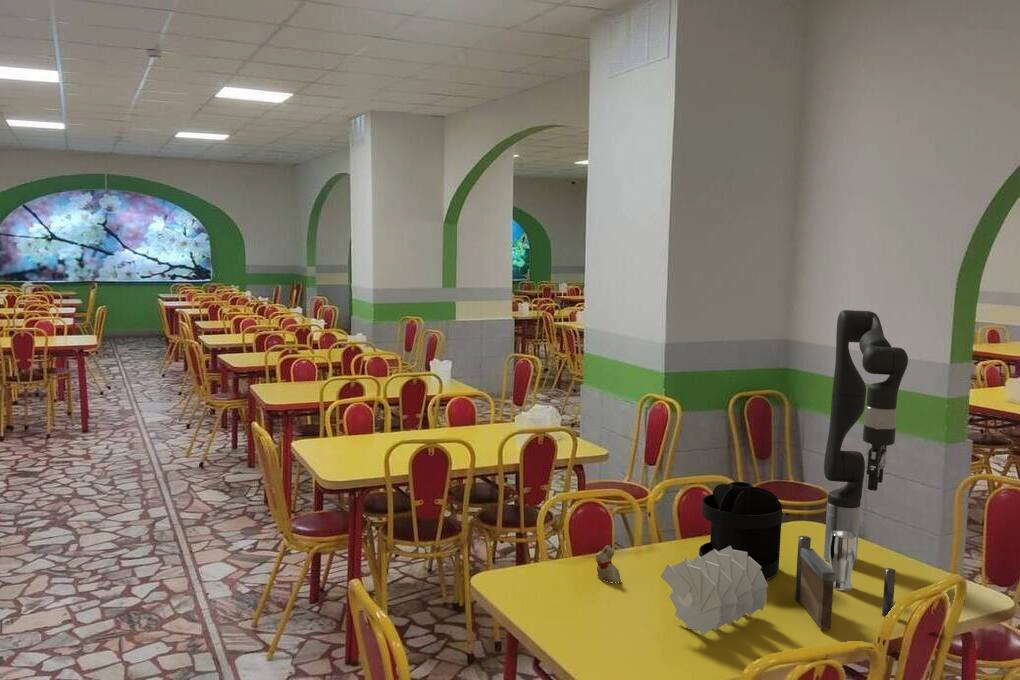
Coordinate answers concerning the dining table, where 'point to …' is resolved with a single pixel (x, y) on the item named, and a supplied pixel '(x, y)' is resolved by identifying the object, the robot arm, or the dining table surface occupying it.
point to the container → (745, 523)
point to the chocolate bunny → (607, 566)
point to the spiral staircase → (716, 588)
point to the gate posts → (888, 582)
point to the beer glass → (842, 558)
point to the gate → (817, 587)
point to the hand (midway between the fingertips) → (875, 486)
